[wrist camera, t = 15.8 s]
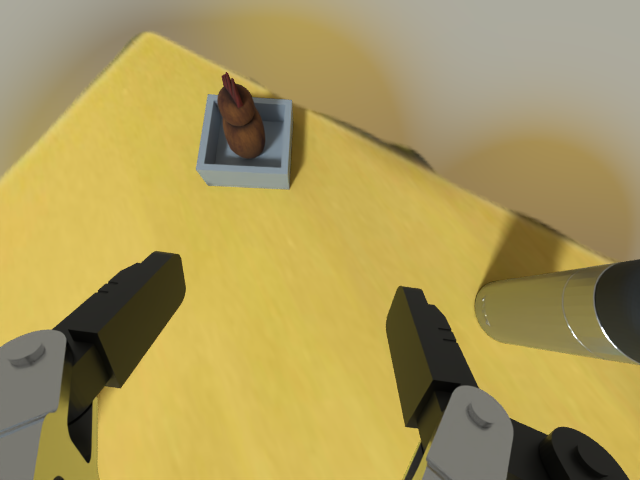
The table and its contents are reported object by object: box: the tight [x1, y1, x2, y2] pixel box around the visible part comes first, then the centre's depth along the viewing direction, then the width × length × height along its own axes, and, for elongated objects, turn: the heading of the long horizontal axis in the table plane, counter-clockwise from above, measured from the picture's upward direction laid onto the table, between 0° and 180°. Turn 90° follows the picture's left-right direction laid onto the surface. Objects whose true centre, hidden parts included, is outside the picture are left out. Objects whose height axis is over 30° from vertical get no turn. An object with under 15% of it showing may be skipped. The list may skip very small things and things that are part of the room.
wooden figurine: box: [217, 72, 265, 159], centre depth 37 cm, size 7×6×15 cm
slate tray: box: [196, 94, 293, 189], centre depth 42 cm, size 13×13×5 cm
